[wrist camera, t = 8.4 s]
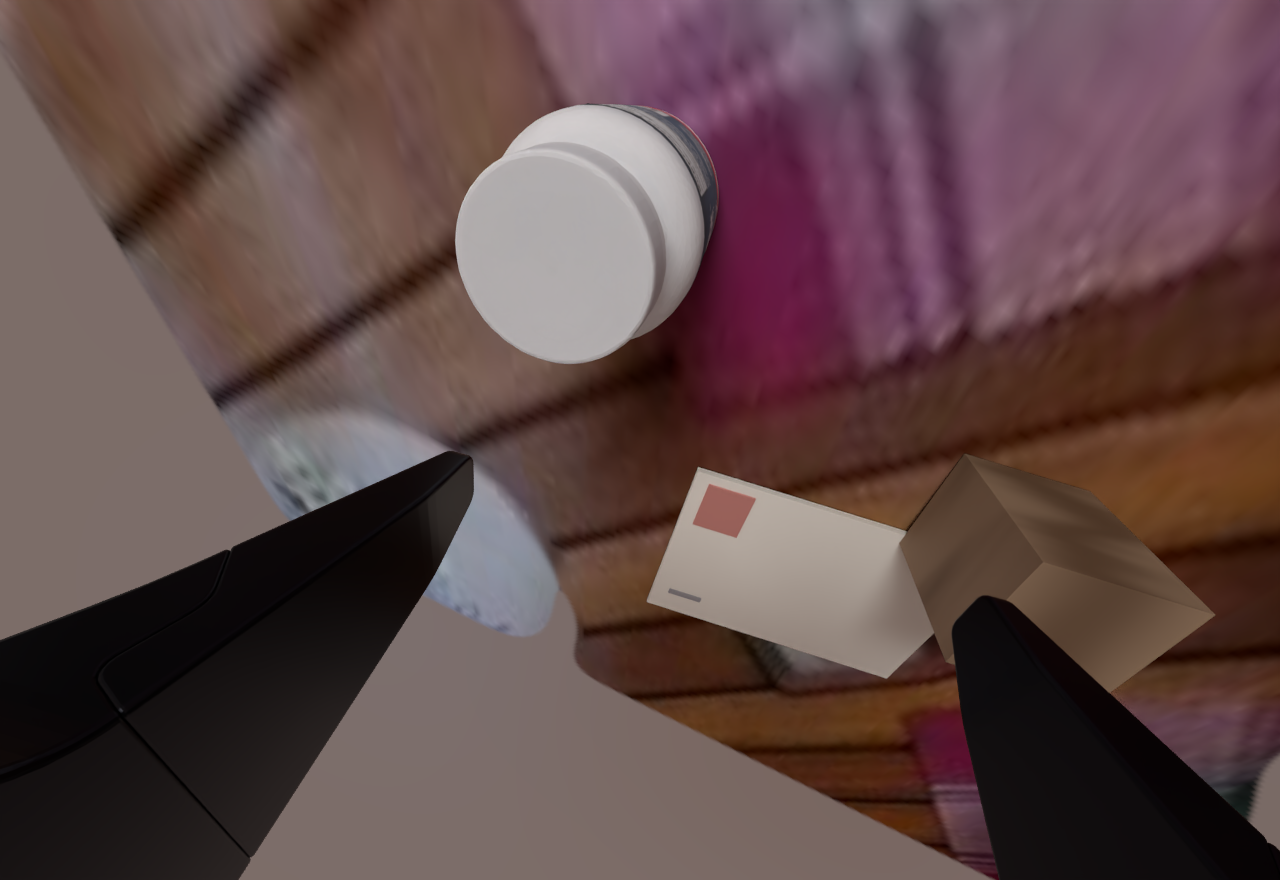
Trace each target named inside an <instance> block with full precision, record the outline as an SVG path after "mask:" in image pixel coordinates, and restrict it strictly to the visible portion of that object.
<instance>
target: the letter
mask: <svg viewBox="0 0 1280 880" xmlns="http://www.w3.org/2000/svg"><path fill="white" fill-rule="evenodd" d="M906 533H907V531H904V530H901V529H898V528H894V527H891V526H888V525H885V524H881V523H878V522H875V521H872V520H868V519H865V518H862V517H859V516H855V515H852V514H849V513H846V512H842V511H839V510H836V509H833V508H830V507H826V506H823V505H820V504H817V503H813V502H810V501H807V500H804V499H800V498H797V497H794V496H791V495H787V494H784V493H781V492H778V491H774V490H771V489H768V488H765V487H761V486H758V485H755V484H752V483H749V482H745V481H742V480H739V479H736V478H732V477H729V476H726V475H723V474H719V473H716V472H713V471H710V470H706V469H703V468H700V467H698V468H697V471H696V474H695V476H694V479H693V481H692V484H691V487H690V489H689V492H688V494H687V497H686V499H685V502H684V505H683V507H682V510H681V512H680V515H679V518H678V520H677V523H676V525H675V528H674V530H673V533H672V536H671V538H670V541H669V543H668V546H667V549H666V551H665V554H664V556H663V559H662V561H661V564H660V567H659V569H658V572H657V574H656V577H655V580H654V582H653V585H652V587H651V590H650V592H649V595H648V598H647V602H648V603H652V604H655V605H658V606H661V607H664V608H667V609H670V610H673V611H677V612H680V613H683V614H686V615H689V616H692V617H695V618H699V619H702V620H705V621H708V622H711V623H714V624H717V625H720V626H724V627H727V628H730V629H733V630H736V631H739V632H742V633H745V634H749V635H752V636H755V637H758V638H761V639H764V640H767V641H771V642H774V643H777V644H780V645H783V646H786V647H789V648H792V649H796V650H799V651H802V652H805V653H808V654H811V655H814V656H817V657H821V658H824V659H827V660H830V661H833V662H836V663H839V664H843V665H846V666H849V667H852V668H855V669H858V670H861V671H864V672H868V673H871V674H874V675H877V676H880V677H883V678H886V679H887V678H888V677H889V676H890V675H891V674H892V673H893V672H894V671H895V670H896V669H897V668H898V667H899V666H900V665H901V664H902V663H903V662H904V661H905V660H906V659H908V658H909V657H910V656H911V655H912V654H913V653H914V652H915V651H916V650H917V649H918V648H919V647H920V646H921V645H922V644H923V643H924V642H925V641H926V640H927V639H928V638H929V637H930V636H932V635H933V634H934V631H933V628H932V626H931V623H930V621H929V618H928V616H927V613H926V610H925V608H924V605H923V603H922V600H921V598H920V595H919V593H918V590H917V587H916V585H915V582H914V580H913V577H912V575H911V572H910V570H909V567H908V564H907V562H906V559H905V557H904V554H903V552H902V549H901V547H900V544H899V543H900V542H901V540H902V539H903V537H904V536H905V535H906Z"/></svg>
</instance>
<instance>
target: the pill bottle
mask: <svg viewBox="0 0 1280 880" xmlns="http://www.w3.org/2000/svg"><path fill="white" fill-rule="evenodd" d="M718 198H719V192H718V182H717V177H716V172H715V169H714V166H713V162H712V160H711V158H710V155H709V153H708V151H707V150H706V148H705V146H704V144H703V143H702V142H701V140H700V139H699V137H698V136H697V135H696V134H695V133H694V132H693V130H692V129H691V128H690V127H689V126H687V125H686V124H685V123H684V122H682V121H681V120H680V119H678V118H677V117H675V116H673V115H671V114H669V113H667V112H665V111H662V110H659V109H656V108H651V107H646V106H634V105H618V104H589V103H587V104H584V105H577V106H572V107H568V108H564V109H561V110H558V111H555V112H552V113H550V114H548V115H545V116H544V117H542V118H540V119H538V120H536V121H535V122H533V123H532V124H531V125H529V126H528V127H527V128H526V129H525V130H524V131H523V132H522V133H520V134H519V136H518V137H517V138H516V139H515V140H514V141H513V142H512V144H511V145H510V146H509V148H508V149H507V151H506V152H505V154H504V155H503V157H502V158H501V159H499V160H498V161H496V162H494V163H493V164H491V165H490V166H489V167H488V168H486V169H485V170H484V171H483V172H482V173H481V174H480V175H479V176H478V178H477V179H476V181H475V182H474V183H473V184H472V185H471V187H470V188H469V190H468V192H467V194H466V196H465V198H464V200H463V203H462V206H461V209H460V212H459V215H458V220H457V227H456V240H455V242H456V254H457V262H458V266H459V271H460V275H461V278H462V280H463V283H464V286H465V288H466V291H467V293H468V295H469V297H470V299H471V301H472V302H473V304H474V306H475V307H476V309H477V310H478V312H479V313H480V314H481V316H482V317H483V319H484V320H485V321H486V322H487V324H488V325H489V326H490V327H491V328H492V329H493V330H494V331H495V332H496V333H498V334H499V335H500V336H501V337H502V338H503V339H504V340H505V341H507V342H508V343H510V344H511V345H513V346H514V347H516V348H517V349H519V350H521V351H522V352H524V353H526V354H528V355H531V356H533V357H536V358H539V359H543V360H546V361H549V362H554V363H563V364H578V363H586V362H590V361H594V360H597V359H600V358H603V357H605V356H607V355H609V354H611V353H613V352H614V351H616V350H617V349H619V348H620V347H622V346H623V345H625V344H626V343H627V342H628V341H629V340H631V339H634V338H637V337H640V336H642V335H644V334H646V333H647V332H649V331H651V330H653V329H654V328H656V327H657V326H658V325H660V324H661V323H662V322H663V321H665V320H666V319H667V318H668V317H669V316H670V315H671V314H672V313H673V312H674V311H675V309H676V308H677V307H678V306H679V304H680V303H681V302H682V300H683V299H684V297H685V296H686V295H687V293H688V291H689V290H690V288H691V286H692V284H693V282H694V280H695V277H696V275H697V272H698V270H699V267H700V264H701V261H702V258H703V256H704V253H705V250H706V248H707V245H708V242H709V240H710V237H711V234H712V232H713V229H714V226H715V222H716V217H717V211H718Z"/></svg>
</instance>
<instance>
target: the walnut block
mask: <svg viewBox="0 0 1280 880" xmlns="http://www.w3.org/2000/svg"><path fill="white" fill-rule="evenodd" d="M899 544H900V547H901V549H902V552H903V554H904V557H905V559H906V562H907V564H908V567H909V570H910V572H911V575H912V577H913V580H914V582H915V585H916V587H917V590H918V593H919V595H920V598H921V600H922V603H923V605H924V608H925V610H926V613H927V616H928V618H929V621H930V623H931V626H932V628H933V631H934V633H935V636H936V639H937V641H938V644H939V646H940V649H941V651H942V654H943V656H944V659H945V662H948V663H951V664H954V665H955V660H954V653H953V645H952V637H951V632H952V626H953V624H954V622H955V620H956V619H957V618H958V617H959V616H960V615H961V614H962V613H963V612H964V611H965V610H966V609H967V608H968V607H969V606H970V605H971V604H972V603H973V602H974V601H975V600H976V599H977V598H978V597H980V596H982V595H989V596H993V597H997V598H1000V599H1004V600H1007V601H1009V602H1011V603H1013V604H1014V605H1015V606H1016V607H1017V608H1018V609H1019V610H1020V611H1022V612H1023V613H1024V614H1025V615H1026V616H1027V617H1028V618H1029V619H1030V620H1031V621H1032V622H1033V623H1035V624H1036V625H1037V626H1038V627H1039V628H1040V629H1041V630H1042V631H1043V632H1044V633H1045V634H1046V635H1047V636H1049V637H1050V638H1051V639H1052V640H1053V641H1054V642H1055V643H1056V644H1057V645H1058V646H1059V647H1060V648H1061V649H1063V650H1064V651H1065V652H1066V653H1067V654H1068V655H1069V656H1070V657H1071V658H1072V659H1073V660H1074V661H1075V662H1077V663H1078V664H1079V665H1080V666H1081V667H1082V668H1083V669H1084V670H1085V671H1086V672H1087V673H1088V674H1089V675H1091V676H1092V677H1093V678H1094V679H1095V680H1096V681H1097V682H1098V683H1099V684H1100V685H1101V686H1102V687H1104V688H1105V689H1106V690H1107V691H1108V692H1109V693H1110V692H1111V691H1113V690H1114V689H1115V688H1117V687H1118V686H1120V685H1121V684H1122V683H1124V682H1125V681H1126V680H1128V679H1129V678H1130V677H1132V676H1133V675H1135V674H1136V673H1137V672H1139V671H1140V670H1141V669H1143V668H1144V667H1146V666H1147V665H1148V664H1150V663H1151V662H1152V661H1154V660H1155V659H1156V658H1158V657H1159V656H1161V655H1162V654H1163V653H1165V652H1166V651H1167V650H1169V649H1170V648H1171V647H1173V646H1174V645H1176V644H1177V643H1178V642H1180V641H1181V640H1182V639H1184V638H1185V637H1186V636H1188V635H1189V634H1191V633H1192V632H1193V631H1195V630H1196V629H1197V628H1199V627H1200V626H1201V625H1203V624H1204V623H1206V622H1207V621H1208V620H1210V619H1211V618H1212V617H1214V616H1215V614H1214V613H1213V612H1212V611H1211V610H1210V609H1209V608H1208V607H1207V606H1206V605H1205V604H1204V603H1203V602H1202V601H1201V600H1200V599H1199V598H1198V597H1197V596H1196V595H1195V594H1194V593H1193V592H1192V591H1191V590H1190V589H1189V588H1188V587H1187V586H1186V585H1185V584H1184V583H1183V582H1182V581H1181V580H1180V579H1178V578H1177V577H1176V576H1175V575H1174V574H1173V573H1172V572H1171V571H1170V570H1169V569H1168V568H1167V567H1166V566H1165V565H1164V564H1163V563H1162V562H1161V561H1160V560H1159V559H1158V558H1157V557H1156V556H1155V555H1154V554H1153V553H1152V552H1151V551H1150V550H1149V549H1148V548H1147V547H1146V546H1145V545H1144V544H1143V543H1142V542H1141V541H1140V540H1139V539H1138V538H1137V537H1136V536H1135V535H1134V534H1133V533H1132V532H1131V531H1130V530H1129V529H1128V528H1127V527H1126V526H1125V525H1124V524H1123V523H1122V522H1121V521H1120V520H1119V519H1118V518H1117V517H1116V516H1115V515H1114V514H1113V513H1112V512H1111V511H1110V510H1109V509H1108V508H1107V507H1106V506H1105V505H1104V504H1103V503H1101V502H1100V501H1099V500H1098V499H1097V498H1096V497H1095V496H1094V495H1093V494H1092V493H1091V492H1090V491H1087V490H1084V489H1080V488H1077V487H1074V486H1071V485H1067V484H1064V483H1061V482H1057V481H1054V480H1051V479H1047V478H1044V477H1041V476H1037V475H1034V474H1031V473H1027V472H1024V471H1021V470H1018V469H1014V468H1011V467H1008V466H1004V465H1001V464H998V463H994V462H991V461H988V460H984V459H981V458H978V457H974V456H971V455H968V454H964V455H963V456H962V458H961V459H960V461H959V462H958V463H957V465H956V466H955V467H954V469H953V470H952V472H951V473H950V474H949V476H948V477H947V478H946V480H945V481H944V482H943V484H942V485H941V487H940V488H939V489H938V491H937V492H936V493H935V495H934V496H933V498H932V499H931V500H930V502H929V503H928V504H927V506H926V507H925V509H924V510H923V511H922V513H921V514H920V515H919V517H918V518H917V520H916V521H915V522H914V524H913V525H912V526H911V528H910V529H909V531H908V532H907V533H906V535H905V536H904V537H903V539H902V540H901V542H900V543H899Z"/></svg>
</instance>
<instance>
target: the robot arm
mask: <svg viewBox="0 0 1280 880" xmlns="http://www.w3.org/2000/svg"><path fill="white" fill-rule="evenodd" d="M473 492H474V471H473V460H472V458H471V457H470V456H469V455H465V454H462V453H458V452H454V451H447V452H444V453H442V454H440V455H437V456H435V457H433V458H431V459H428V460H426V461H424V462H422V463H419V464H417V465H415V466H413V467H410V468H408V469H406V470H404V471H402V472H399V473H397V474H395V475H393V476H390V477H388V478H386V479H384V480H381V481H379V482H377V483H375V484H372V485H370V486H368V487H366V488H363V489H361V490H359V491H357V492H354V493H352V494H350V495H348V496H345V497H343V498H341V499H339V500H337V501H334V502H332V503H330V504H328V505H325V506H323V507H321V508H319V509H316V510H314V511H312V512H310V513H307V514H305V515H303V516H301V517H298V518H296V519H294V520H292V521H289V522H287V523H285V524H283V525H281V526H278V527H276V528H274V529H272V530H269V531H267V532H265V533H263V534H260V535H258V536H256V537H254V538H251V539H249V540H247V541H245V542H242V543H240V544H238V545H236V546H234V547H233V548H232V549H231V551H229V550H224V551H222V552H220V553H217V554H215V555H213V556H211V557H208V558H206V559H204V560H202V561H199V562H197V563H195V564H192V565H190V566H188V567H185V568H183V569H181V570H179V571H176V572H174V573H171V574H169V575H167V576H164V577H162V578H160V579H157V580H155V581H153V582H150V583H148V584H145V585H143V586H140V587H138V588H135V589H133V590H130V591H128V592H125V593H123V594H120V595H117V596H115V597H112V598H110V599H107V600H105V601H102V602H100V603H97V604H95V605H92V606H90V607H87V608H84V609H81V610H79V611H76V612H73V613H71V614H68V615H66V616H63V617H60V618H58V619H55V620H52V621H50V622H47V623H44V624H42V625H39V626H36V627H34V628H31V629H29V630H26V631H23V632H20V633H18V634H15V635H13V636H10V637H7V638H5V639H2V640H0V880H239V878H240V877H241V875H242V873H243V872H244V870H245V869H246V867H247V866H248V864H249V863H250V857H252V856H253V855H254V854H255V853H256V851H257V850H258V848H259V847H260V845H261V844H262V842H263V840H264V839H265V837H266V836H267V834H268V833H269V831H270V830H271V828H272V827H273V825H274V823H275V822H276V820H277V819H278V817H279V815H280V814H281V813H282V811H283V810H284V808H285V806H286V805H287V803H288V802H289V800H290V799H291V797H292V796H293V794H294V793H295V791H296V789H297V788H298V786H299V785H300V783H301V782H302V780H303V779H304V777H305V775H306V774H307V772H308V771H309V769H310V768H311V766H312V765H313V763H314V761H315V760H316V759H317V757H318V755H319V754H320V752H321V751H322V749H323V748H324V746H325V745H326V743H327V741H328V740H329V738H330V737H331V735H332V734H333V732H334V731H335V729H336V728H337V726H338V724H339V723H340V721H341V720H342V718H343V717H344V715H345V714H346V712H347V710H348V709H349V707H350V706H351V704H352V703H353V701H354V700H355V698H356V697H357V695H358V694H359V692H360V690H361V689H362V687H363V686H364V684H365V682H366V681H367V680H368V678H369V677H370V675H371V673H372V672H373V670H374V669H375V667H376V666H377V664H378V662H379V661H380V660H381V658H382V656H383V655H384V653H385V652H386V650H387V649H388V647H389V646H390V644H391V643H392V641H393V639H394V638H395V636H396V635H397V633H398V632H399V630H400V629H401V627H402V625H403V624H404V622H405V621H406V619H407V618H408V616H409V615H410V613H411V612H412V610H413V608H414V607H415V605H416V604H417V602H418V601H419V599H420V598H421V596H422V595H423V593H424V591H425V590H426V588H427V587H428V585H429V583H430V582H431V580H432V579H433V577H434V575H435V573H436V571H437V569H438V568H439V566H440V564H441V562H442V560H443V558H444V556H445V554H446V552H447V550H448V548H449V546H450V544H451V542H452V540H453V538H454V535H455V533H456V531H457V529H458V527H459V525H460V523H461V521H462V519H463V517H464V515H465V513H466V511H467V509H468V507H469V505H470V503H471V500H472V497H473ZM951 637H952V645H953V653H954V660H955V668H956V676H957V684H958V692H959V699H960V707H961V714H962V720H963V726H964V730H965V735H966V740H967V744H968V748H969V753H970V757H971V761H972V765H973V770H974V774H975V778H976V783H977V787H978V791H979V795H980V800H981V804H982V808H983V812H984V817H985V821H986V825H987V829H988V834H989V838H990V842H991V846H992V851H993V855H994V859H995V863H996V868H997V872H998V876H999V880H1280V851H1279V850H1278V849H1277V848H1276V847H1275V846H1274V845H1272V844H1270V843H1267V841H1266V839H1265V837H1264V836H1263V835H1262V834H1261V833H1260V832H1259V831H1258V830H1257V829H1256V828H1254V827H1253V826H1252V825H1251V824H1250V823H1249V822H1248V821H1247V820H1246V819H1245V818H1244V817H1243V816H1242V815H1240V814H1239V813H1238V812H1237V811H1236V810H1235V809H1234V808H1233V807H1232V806H1231V805H1230V804H1229V803H1228V802H1226V801H1225V800H1224V799H1223V798H1222V797H1221V796H1220V795H1219V794H1218V793H1217V792H1216V791H1215V790H1213V789H1212V788H1211V787H1210V786H1209V785H1208V784H1207V783H1206V782H1205V781H1204V780H1203V779H1202V778H1201V777H1199V776H1198V775H1197V774H1196V773H1195V772H1194V771H1193V770H1192V769H1191V768H1190V767H1189V766H1188V765H1187V764H1185V763H1184V762H1183V761H1182V760H1181V759H1180V758H1179V757H1178V756H1177V755H1176V754H1175V753H1174V752H1172V751H1171V750H1170V749H1169V748H1168V747H1167V746H1166V745H1165V744H1164V743H1163V742H1162V741H1161V740H1160V739H1158V738H1157V737H1156V736H1155V735H1154V734H1153V733H1152V732H1151V731H1150V730H1149V729H1148V728H1147V727H1146V726H1144V725H1143V724H1142V723H1141V722H1140V721H1139V720H1138V719H1137V718H1136V717H1135V716H1134V715H1133V714H1132V713H1130V712H1129V711H1128V710H1127V709H1126V708H1125V707H1124V706H1123V705H1122V704H1121V703H1120V702H1119V701H1118V700H1116V699H1115V698H1114V697H1113V696H1112V695H1111V694H1110V693H1109V692H1108V691H1107V690H1106V689H1105V688H1104V687H1102V686H1101V685H1100V684H1099V683H1098V682H1097V681H1096V680H1095V679H1094V678H1093V677H1092V676H1091V675H1089V674H1088V673H1087V672H1086V671H1085V670H1084V669H1083V668H1082V667H1081V666H1080V665H1079V664H1078V663H1077V662H1075V661H1074V660H1073V659H1072V658H1071V657H1070V656H1069V655H1068V654H1067V653H1066V652H1065V651H1064V650H1063V649H1061V648H1060V647H1059V646H1058V645H1057V644H1056V643H1055V642H1054V641H1053V640H1052V639H1051V638H1050V637H1049V636H1047V635H1046V634H1045V633H1044V632H1043V631H1042V630H1041V629H1040V628H1039V627H1038V626H1037V625H1036V624H1035V623H1033V622H1032V621H1031V620H1030V619H1029V618H1028V617H1027V616H1026V615H1025V614H1024V613H1023V612H1022V611H1020V610H1019V609H1018V608H1017V607H1016V606H1015V605H1014V604H1013V603H1011V602H1009V601H1007V600H1004V599H1000V598H997V597H993V596H989V595H982V596H980V597H978V598H977V599H976V600H975V601H974V602H973V603H972V604H971V605H970V606H969V607H968V608H967V609H966V610H965V611H964V612H963V613H962V614H961V615H960V616H959V617H958V618H957V619H956V620H955V622H954V624H953V626H952V632H951Z"/></svg>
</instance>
